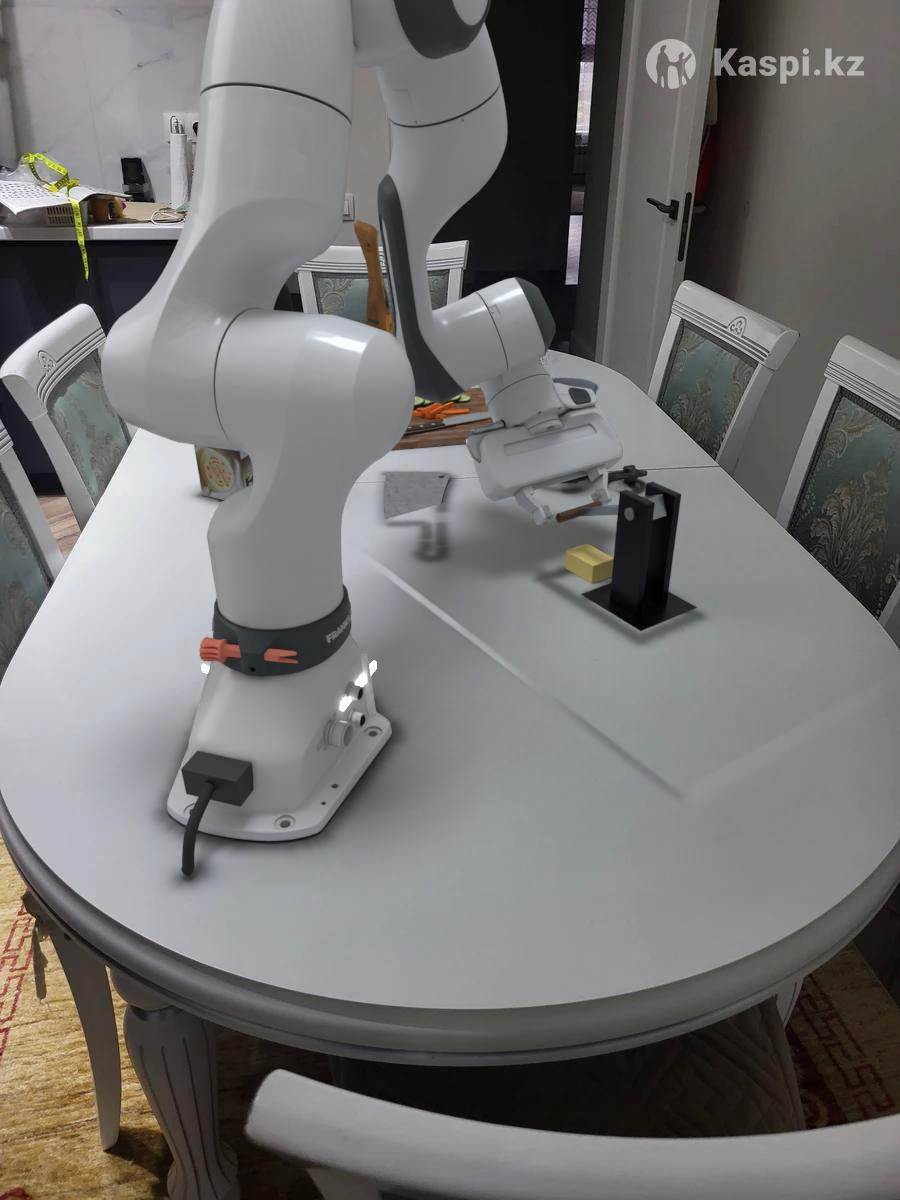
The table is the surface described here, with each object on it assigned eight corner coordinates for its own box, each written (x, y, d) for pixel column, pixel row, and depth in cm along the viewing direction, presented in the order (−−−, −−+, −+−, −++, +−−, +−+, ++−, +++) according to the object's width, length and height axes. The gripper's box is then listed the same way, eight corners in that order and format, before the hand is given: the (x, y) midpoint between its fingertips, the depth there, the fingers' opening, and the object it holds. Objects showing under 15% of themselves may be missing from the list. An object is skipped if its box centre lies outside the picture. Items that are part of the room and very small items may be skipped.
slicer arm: (557, 528, 107) (553, 508, 107) (598, 515, 110) (594, 496, 110) (638, 525, 95) (633, 503, 95) (680, 510, 98) (677, 489, 98)
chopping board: (528, 390, 179) (529, 375, 177) (572, 435, 156) (573, 418, 154) (303, 407, 171) (301, 391, 169) (314, 456, 148) (312, 438, 146)
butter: (564, 569, 111) (565, 550, 110) (585, 561, 113) (587, 543, 111) (591, 585, 107) (592, 566, 106) (612, 577, 109) (614, 558, 108)
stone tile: (369, 558, 116) (446, 557, 116) (369, 554, 116) (446, 554, 115) (386, 473, 141) (449, 473, 141) (386, 470, 141) (449, 470, 141)
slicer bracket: (579, 602, 106) (588, 487, 98) (635, 581, 110) (647, 469, 103) (639, 640, 99) (654, 518, 91) (696, 616, 103) (714, 498, 95)
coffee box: (274, 491, 135) (262, 387, 127) (247, 506, 131) (233, 399, 123) (227, 481, 139) (212, 379, 131) (199, 495, 134) (182, 391, 126)
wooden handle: (369, 364, 197) (362, 228, 183) (360, 343, 213) (352, 216, 199) (399, 362, 198) (394, 226, 184) (388, 341, 214) (382, 215, 200)
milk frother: (523, 471, 141) (526, 379, 134) (611, 459, 146) (619, 369, 138) (561, 506, 130) (567, 407, 122) (656, 491, 134) (668, 395, 127)
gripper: (471, 417, 103) (520, 523, 101) (603, 387, 113) (650, 483, 111) (449, 443, 109) (496, 544, 106) (577, 412, 118) (622, 504, 116)
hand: (575, 513), depth 109 cm, fingers open, 8 cm apart
